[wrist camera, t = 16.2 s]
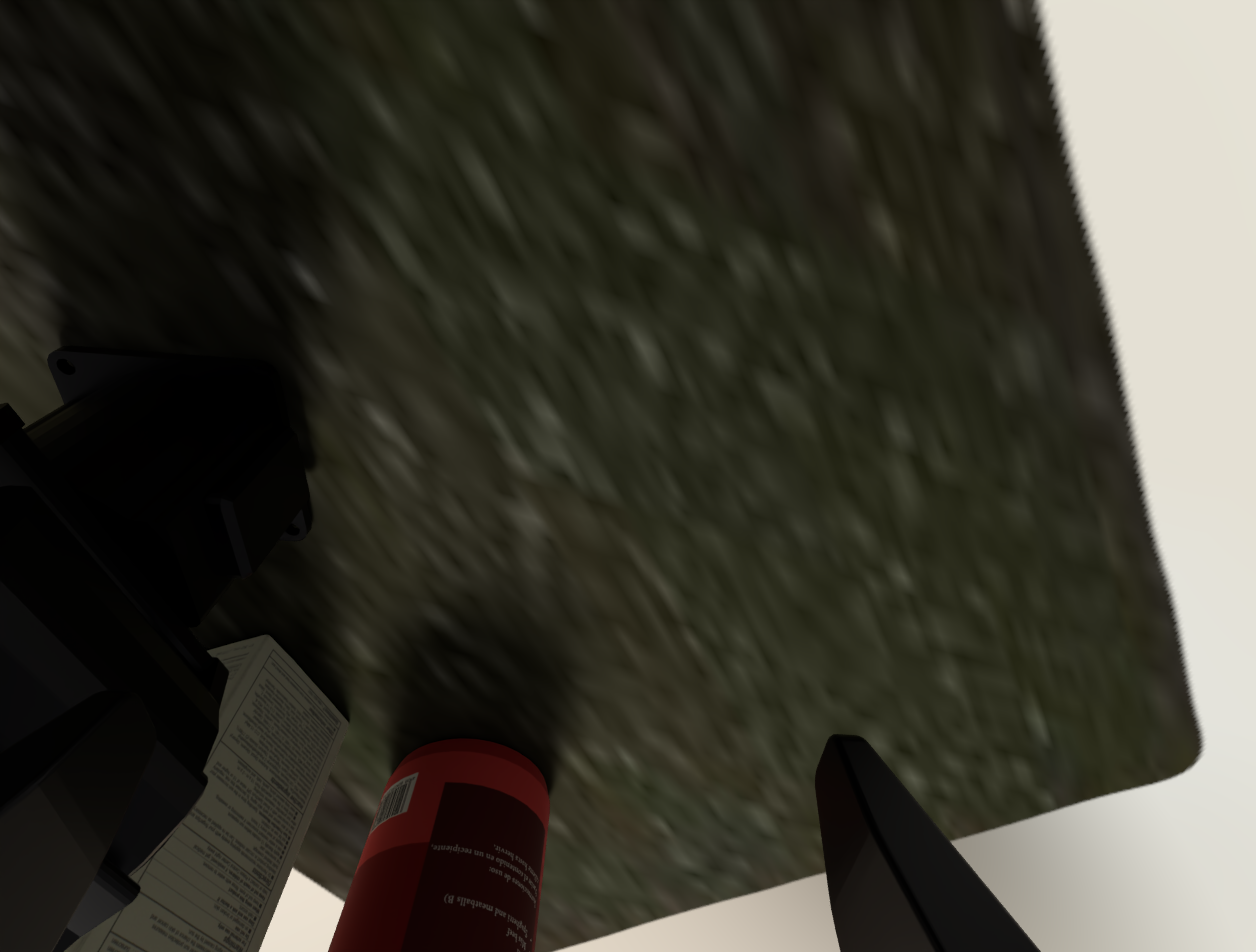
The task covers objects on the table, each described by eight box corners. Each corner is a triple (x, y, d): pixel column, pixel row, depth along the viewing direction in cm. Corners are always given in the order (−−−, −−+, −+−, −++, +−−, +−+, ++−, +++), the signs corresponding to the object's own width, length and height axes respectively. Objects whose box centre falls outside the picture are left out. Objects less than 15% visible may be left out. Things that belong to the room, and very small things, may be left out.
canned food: (398, 828, 33) (307, 1126, 24) (380, 727, 29) (260, 1042, 20) (550, 836, 34) (518, 1134, 24) (554, 737, 29) (516, 1052, 20)
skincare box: (181, 653, 27) (-105, 1026, 16) (274, 628, 26) (35, 1004, 16) (274, 746, 30) (83, 1107, 19) (360, 726, 29) (208, 1092, 19)
